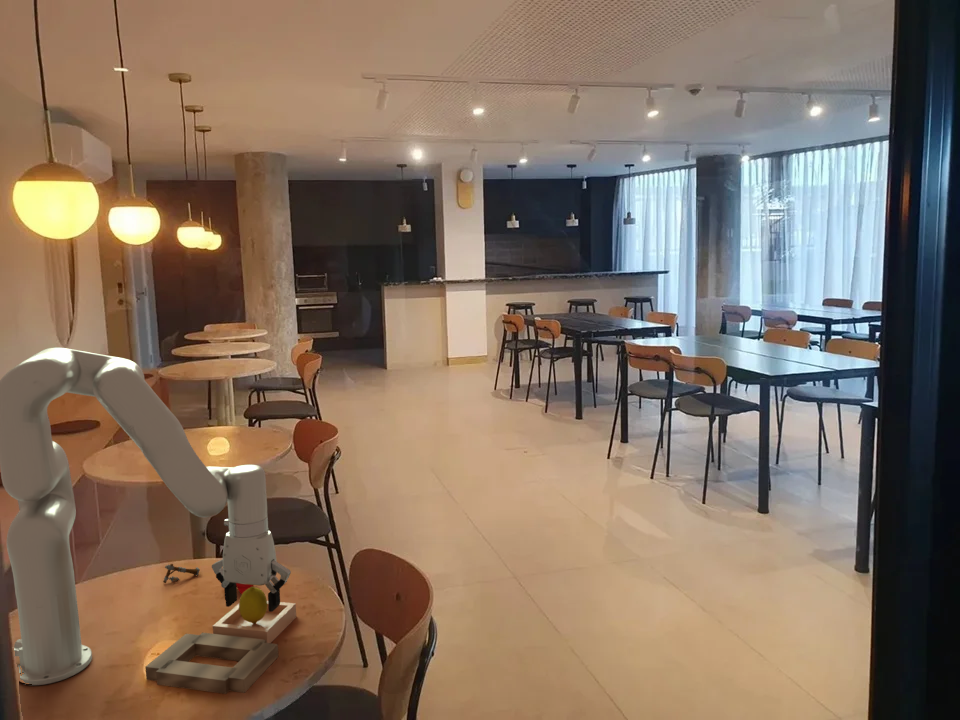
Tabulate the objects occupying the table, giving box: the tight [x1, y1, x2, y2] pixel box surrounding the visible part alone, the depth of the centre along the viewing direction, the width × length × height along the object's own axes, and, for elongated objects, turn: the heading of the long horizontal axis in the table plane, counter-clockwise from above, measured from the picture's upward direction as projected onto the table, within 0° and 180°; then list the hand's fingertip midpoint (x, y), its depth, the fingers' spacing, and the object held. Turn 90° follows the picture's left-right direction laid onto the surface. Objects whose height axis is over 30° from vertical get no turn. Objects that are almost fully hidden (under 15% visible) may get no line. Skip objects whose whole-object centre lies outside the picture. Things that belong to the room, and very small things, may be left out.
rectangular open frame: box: [144, 632, 279, 695], centre depth 137 cm, size 20×14×2 cm
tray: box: [212, 600, 297, 643], centre depth 152 cm, size 12×12×3 cm
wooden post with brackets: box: [162, 563, 201, 584], centre depth 176 cm, size 2×8×4 cm, turn 129°
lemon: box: [238, 586, 268, 624], centre depth 151 cm, size 6×6×8 cm
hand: (252, 606), depth 151 cm, fingers open, 9 cm apart
